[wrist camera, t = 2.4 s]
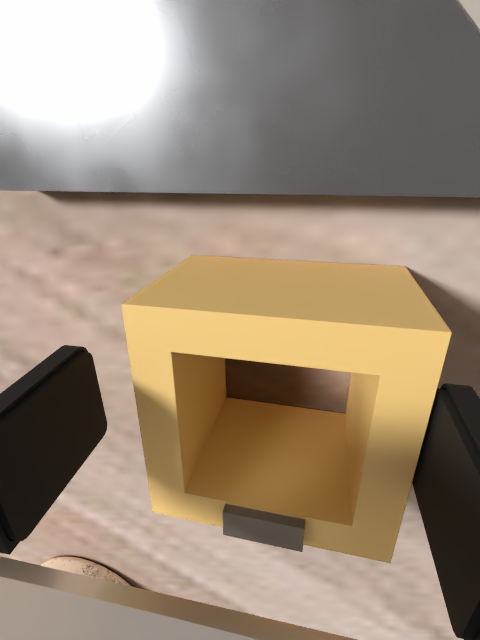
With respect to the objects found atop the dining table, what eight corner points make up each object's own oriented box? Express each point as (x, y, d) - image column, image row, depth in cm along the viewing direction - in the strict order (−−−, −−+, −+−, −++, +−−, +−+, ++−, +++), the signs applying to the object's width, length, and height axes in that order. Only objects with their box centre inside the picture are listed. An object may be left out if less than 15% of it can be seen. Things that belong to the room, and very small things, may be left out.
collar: (405, 266, 12) (456, 338, 7) (372, 441, 15) (391, 574, 10) (191, 255, 13) (114, 308, 8) (201, 415, 16) (148, 520, 12)
